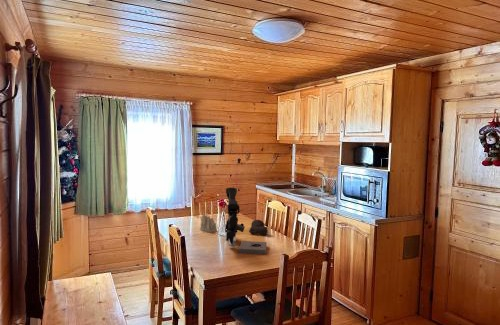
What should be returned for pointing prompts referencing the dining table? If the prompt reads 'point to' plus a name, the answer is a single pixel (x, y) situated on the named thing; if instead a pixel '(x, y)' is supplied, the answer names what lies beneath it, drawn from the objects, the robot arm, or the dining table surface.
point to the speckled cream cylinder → (233, 242)
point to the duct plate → (253, 247)
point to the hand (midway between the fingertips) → (232, 242)
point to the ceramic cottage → (207, 224)
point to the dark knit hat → (258, 228)
